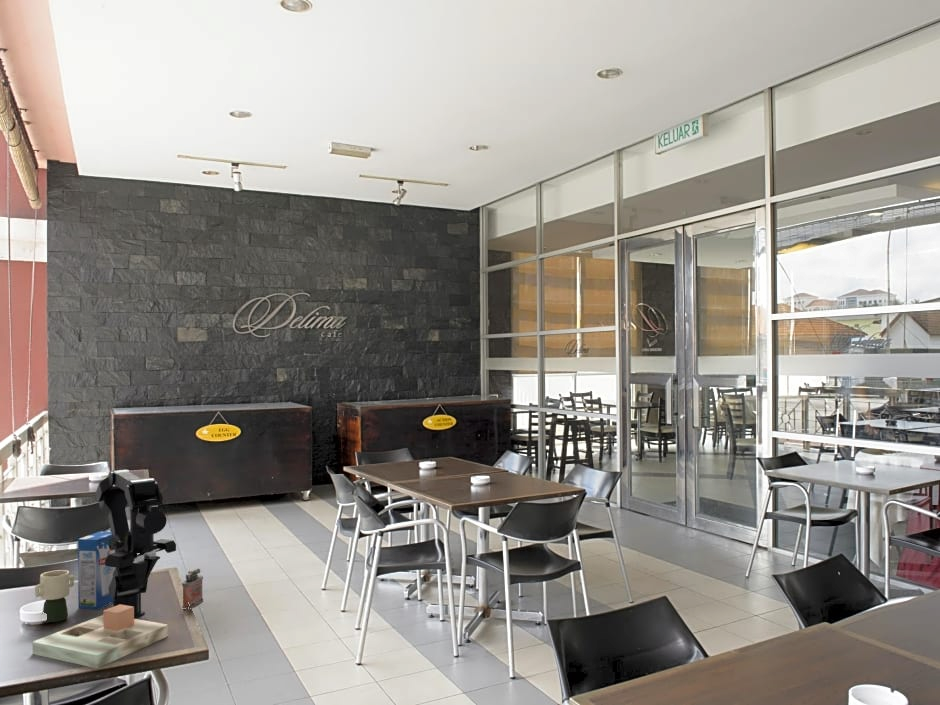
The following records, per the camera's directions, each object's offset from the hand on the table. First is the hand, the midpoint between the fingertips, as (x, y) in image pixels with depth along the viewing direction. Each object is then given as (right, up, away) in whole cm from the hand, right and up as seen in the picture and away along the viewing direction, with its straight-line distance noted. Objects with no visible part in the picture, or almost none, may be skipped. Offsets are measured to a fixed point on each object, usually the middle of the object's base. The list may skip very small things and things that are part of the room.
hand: (142, 585), depth 194 cm
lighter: (+7, -12, +18) cm, 22 cm away
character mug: (-27, -12, +6) cm, 30 cm away
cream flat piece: (-5, -11, -12) cm, 17 cm away
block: (-3, -8, -7) cm, 11 cm away
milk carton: (-22, -12, +20) cm, 32 cm away
